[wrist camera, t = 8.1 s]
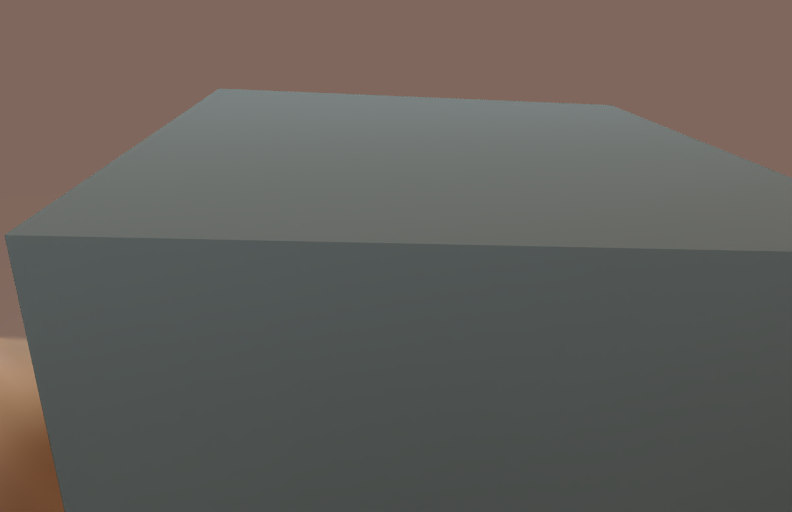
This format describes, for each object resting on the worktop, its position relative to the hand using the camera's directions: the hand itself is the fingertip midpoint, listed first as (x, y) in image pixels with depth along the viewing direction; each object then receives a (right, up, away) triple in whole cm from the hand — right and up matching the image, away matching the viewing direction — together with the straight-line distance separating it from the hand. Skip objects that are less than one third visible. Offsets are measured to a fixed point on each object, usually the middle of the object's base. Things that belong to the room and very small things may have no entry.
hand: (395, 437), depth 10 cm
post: (0, -7, 0) cm, 7 cm away
